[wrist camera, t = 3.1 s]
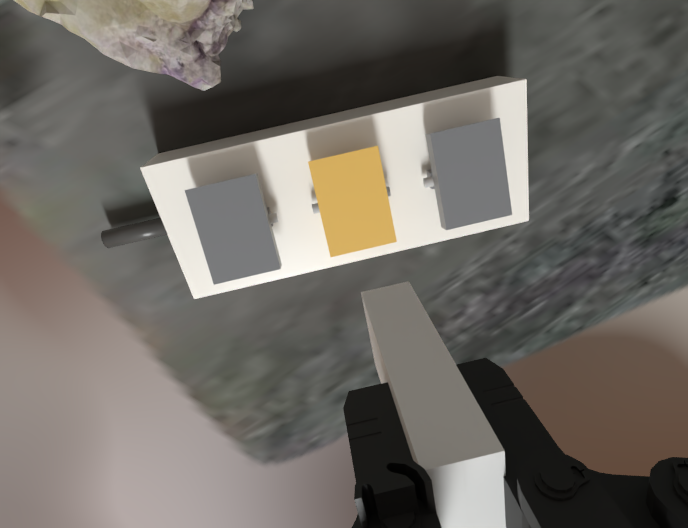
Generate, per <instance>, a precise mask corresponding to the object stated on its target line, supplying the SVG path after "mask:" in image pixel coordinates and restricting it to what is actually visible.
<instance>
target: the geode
mask: <svg viewBox="0 0 688 528" xmlns="http://www.w3.org/2000/svg"><path fill="white" fill-rule="evenodd" d="M14 1H15V2H17V3H18V4H20V5H21V6H23V7H24V8H25V9H27V10H28V11H30V12H32V13H34V14H37V15H39V16H41V17H44V18H47V19H50V20H52V21H54V22H57V23H59V24H62V25H63V26H64V27H65V28H66V29H67V30H69V31H70V32H72V33H74V34H76V35H78V36H80V37H82V38H84V39H86V40H87V41H88V42H89V43H91V44H92V45H93V46H94V47H95V48H97V49H98V50H99V51H100V52H102V53H103V54H104V55H106V56H108V57H111V58H113V59H115V60H117V61H119V62H121V63H123V64H125V65H127V66H129V67H131V68H134V69H139V70H144V71H149V72H154V73H159V74H168V75H170V76H172V77H175V78H177V79H179V80H181V81H183V82H185V83H187V84H189V85H191V86H192V87H195V88H197V89H200V90H203V91H205V90H207V89H209V88H211V87H213V86H215V85H216V84H218V83H220V82H221V72H220V64H221V60H220V58H219V55H218V54H219V53H220V52H221V51H222V50H223V49H224V48H225V46H226V45H227V40H228V36H229V35H230V34H231V32H232V31H233V30H234V31H236V32H238V31H239V30H240V29H241V21H240V20H239V19H238V18H237V17H238V16H239V14H240V13H241V11H242V10H246V9H253V0H14ZM236 32H235V33H236Z"/></svg>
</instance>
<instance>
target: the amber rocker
mask: <svg viewBox="0 0 688 528" xmlns="http://www.w3.org/2000/svg"><path fill="white" fill-rule="evenodd" d="M308 164H309V168H310V173H311V177H312V181H313V185H314V190H315V194H316V198H317V202H318V206H319V211H320V215H321V219H322V223H323V227H324V232H325V236H326V240H327V244H328V249H329V253H330V257H335V256H339V255H343V254H347V253H352V252H356V251H360V250H364V249H369V248H373V247H377V246H382V245H386V244H390V243H394V242H397V240H396V235H395V230H394V224H393V219H392V214H391V209H390V204H389V199H388V194H387V189H386V184H385V179H384V174H383V169H382V164H381V159H380V154H379V148H378V146H373V147H369V148H365V149H360V150H356V151H352V152H347V153H343V154H339V155H334V156H330V157H326V158H321V159H317V160H313V161H308Z"/></svg>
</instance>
